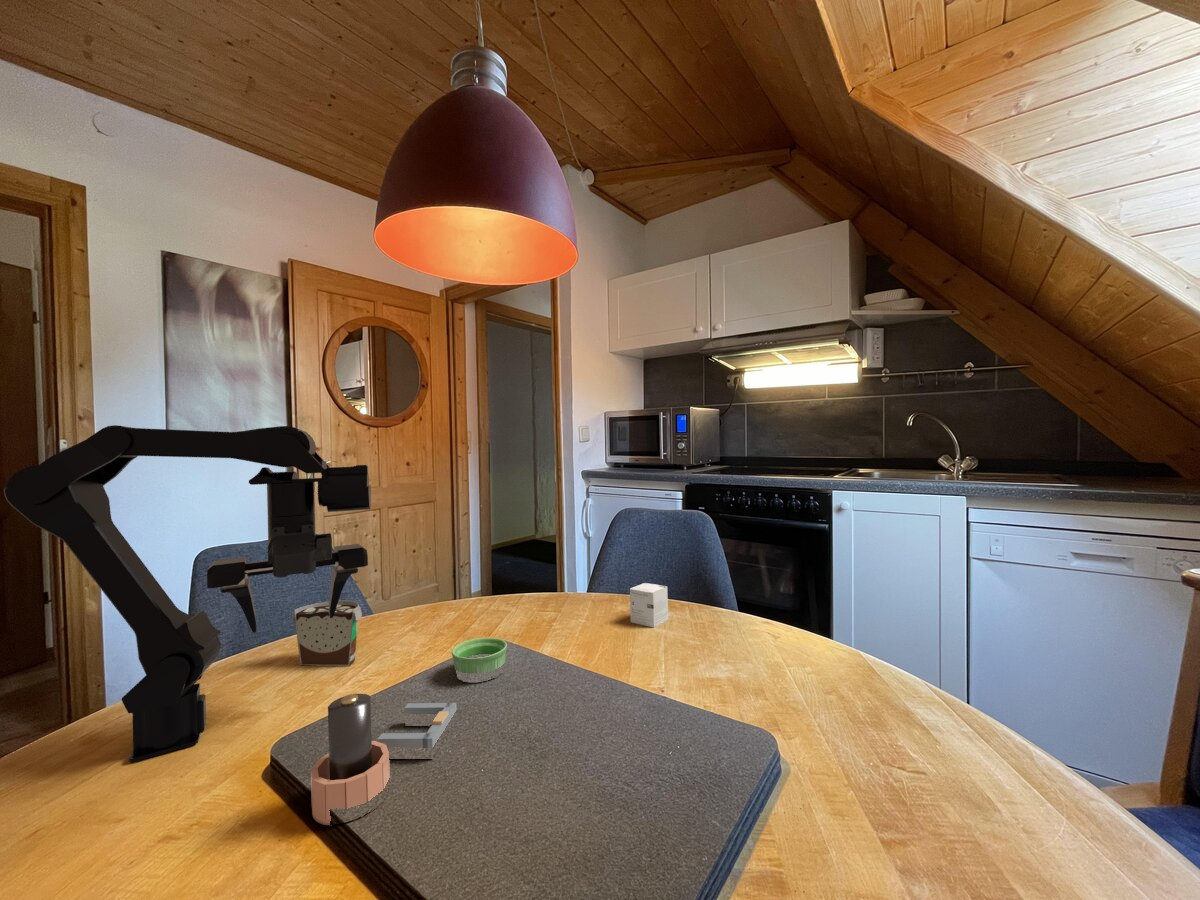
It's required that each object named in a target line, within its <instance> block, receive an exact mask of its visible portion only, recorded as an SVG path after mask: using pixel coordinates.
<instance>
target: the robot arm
mask: <svg viewBox="0 0 1200 900" xmlns="http://www.w3.org/2000/svg"><path fill="white" fill-rule="evenodd" d="M316 449H317V447H316V442H315V440H314V438H313V436H311V434H309V433H308V432H307V431H305V430H302V429H299V428H297V427H294V426H288V425H281V426H271V427H269V426H268V427H264V428H263V427H262V428H254V429H248V430H241V431H239V430H238V431H217V430H215V431H214V430H212V431H211V430H193V429H192V430H190V429H188V430H186V429H168V428H167V429H165V428H164V429H163V428H145V427H144V428H139V427H131V426H123V425H116V424H115V425H114V424H113V425H107V426H105V427H103V428H100V430H98V431H96V432H95V433H93V434H92V435H91V436H89V437H88V438H86V439H84V440H83V441H80V442H78V443H76V444H74V445H71V446H70V447H68V448H66V449H64V450H61V451H60V452H57V453H55V454H53V455H52V456H49V457H48V458H46V460H44V461H42V462H41V463H40V464H37V465H30V466H26V467H23V468H22V469H20V470H17V471H16V472H15V473H14V474H13V475H12V476H11V477H10V478H9V479H8V482H7V484H6V487H4V488H3V495H4V497H5V499H6V501H7V502H8V504H9V505H10V506H11V507H12V508H13V509H15V510H16V511H17V512H18V513H19V514H20V515H22V516H23V517H24V518H26V520H27V521H29V522H30V523H31V524H32V525H34V526H35V527H38V528H40V529H42V530H44V531H45V532H47V533H49V534H51V535H53V536H55V537H57V538H58V539H60V540H61V541H62V542H64V544H65V545H66V546H67V547H68V549H69V550H70V552H72V554H73V555H74V556H75V558H76V559H77V561H79V563H80V564H81V565H82V566H83V568H84V569H85V570H86V572H87V573H88V575H89V576H90V577H91V578H92V580H93V581H94V582H95V583H96V585H97V586H98V587H99V588H100V590H101V591H102V592H103V594H104V595H105V597H107V599H108V600H109V601H110V603H111V604H112V605H113V607H114V608H115V610H117V612H118V613H119V614H120V615H121V617H122V618H123V619H124V621H125V622H126V623H127V625H128V626H129V627H130V628H131V630H132V631H133V633H134V635H135V640H136V641H135V642H136V648H137V655H138V656H137V657H138V661H139V663H140V665H141V667H142V669H143V671H144V673H145V676H144V677H142V678H141V680H140V681H139V682H137V683H136V684H134V686H133V687H132V688H131V689H130V690H128V691H127V693H125V695H123V696H122V697H121V702H122V704H123V705H124V707H125V710H126V711H127V713H128V714H131V715H132V716H131V717H132V718H131V719H132V751H131V753H130V755H129V758H128V762H129V763H134V762H139V761H142V760H145V759H149V758H152V757H157V756H159V755H163V754H166V753H170V752H174V751H177V750H181V749H184V748H187V747H191V746H194V745H197V744H198V743H199V742H200V736H201V734H202V733H203V732H204V731H205V729H206V725H207V709H206V708H207V707H206V706H207V705H206V704H207V702H206V694H204V693H203V694H201V683H197V682H198V681H199V680H200V679H202V677H203V675H204V673H205V672H206V671H207V669H208V668H209V667H210V666H211V665H213V664H214V662H215V661H216V660H217V658H218V656H219V654H220V651H221V648H222V644H221V641H220V638H219V636H220V635H221V634H222V631H221V630H220V629H217V628H216V627H215V626H214V625H213V624H212V622H211V621H210V618H209V617H208V616H209V615H208V614H207V613H206V612H205V610H200V611H199V612H198V613H196V614H195V615H194V616H192V615H190V614H188V613H186V612H185V611H183V610H181V609H180V608H178V607H177V606H176V604H175V603H174V602H173V600H172V598H170V597H169V595H168V594H167V593H166V591H165V590H164V588H163V587H162V586H161V585H160V583H159V582H158V581H157V579H156V578H155V576H154V575H153V574H152V572H151V571H150V570H149V569H148V567H147V566H146V565H145V563H144V562H143V561H142V559H141V558H140V557H139V556H138V554H137V552H136V551H135V550H134V549H133V547H132V546H131V544H130V543H129V542H128V541H127V540H126V537H124V535H123V534H122V533H121V531H120V530H119V528H118V527H117V526H116V525H115V522H114V521H113V520H112V515H111V513H112V512H111V506H110V505H111V504H110V497H109V496H108V494H107V492H106V490H105V487H104V486H105V485H106V484H108V483H109V482H111V481H113V480H114V479H115V478H116V477H118V476H119V475H120V473H121V472H123V470H124V469H126V467H127V466H128V465H129V464H130V462H132V461H133V460H135V459H136V458H138V457H163V458H164V457H168V458H170V457H171V458H207V459H208V458H209V459H211V458H213V459H216V458H217V459H234V460H240V461H245V462H246V461H247V462H251V463H256V464H261V465H268V466H272V467H273V466H274V467H280V468H296V469H297V470H299V471H301V472H303V473H305V474H321V477H310V478H309V477H308V478H305V477H304V478H299V475H298V472H297V471H295V470H294V471H275V472H274V471H273V470H272V469H270V468H269V467H261V469H260V470H259V471H258V473H257V474H256V475H254V476H253V477H252V478H250V479H249V480H248V484H249V485H252V486H253V485H254V486H255V485H266V496H267V497H266V498H267V499H266V502H267V510H266V511H267V540H268V541H267V544H268V545H267V557H268V558H267V559H266V560H258V561H249V562H247V556H243V557H242V556H241V557H234V558H225V559H224V558H223V559H217V560H214V561H213V562H212V563H211V564H210V565H209V567H208V569H207V571H206V572H207V573H206V583H207V584H206V587H207V589H217V588H220V590H219V591H220V593H222V594H223V593H224V594H226V593H230V594H231V595H232V596H233V598H234V599H235V600H236V601H237V604H239V605H240V608H241V610H242V611H243V614H244V616H245V618H246V621H247V623H248V625H249V627H250V630H251V632H252V633H253V634H257V631H258V630H257V627H258V626H257V614H256V609H255V604H254V602H255V601H254V597H253V593H252V592H253V591H252V585H251V580H250V577H253V576H258V575H259V576H260V575H266V574H272V575H273V577H275V578H286V577H288V576H291V575H299V574H304V575H307V574H313V573H315V571H316V570H317V567H327V566H331V573H330V574H331V575H330V577H331V578H330V585H329V586H330V588H329V617H330V618H333V616H334V613H335V610H336V607H337V604H338V601H340V599H341V595H342V591H343V589H344V587H345V586H346V583H347V581H348V579H349V578H350V577H351V575H355V574H358V573H359V569H358V568H364V567H367V566H368V565H369V561H368V559H369V557H368V556H369V555H368V550H367V549H366V548H365V547H364V546H362V545H361V544H360V543H354V544H353V543H352V544H347V545H346V544H345V545H338V546H337V545H335V546H333V540H332V539H333V537H332V533H320V534H316V513H315V512H316V501H315V498H316V497H315V496H316V495H315V483H317V500H318V501H317V502H318V505H319V507H324V508H325V507H326V511H327V512H328V513H335V512H338V513H339V512H350V511H353V512H354V511H367V510H371V508H372V507H371V506H372V487H371V485H370V477H369V476H370V475H369V466H368V465H367V464H357V465H353V466H337V467H335V466H334V467H330V465H329V464H328V463H327V461H325V460H324V459H323V458H322V457H321V456H320V455H319V454H318V452H316ZM333 547H334V548H333ZM333 565H334V566H333Z"/></svg>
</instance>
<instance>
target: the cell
mask: <svg viewBox="0 0 1200 900" xmlns="http://www.w3.org/2000/svg"><path fill="white" fill-rule="evenodd" d="M371 703H372V702H371V696H370V695H369V694H367V693H352V694H347V695H345V696H341V697H338V698H337V699H335V700H333V701H332V702H331V703H329V705H328V707H327V719H328V720H327V721H328V723H327V724H328V725H327V726H328V727H327V729H328V753H329V774H330V780H341V779H348V778H350V777H353V776H356V775H359V774H362V773H364V772H366V771H367V770H369V769H370V768H371V767H372V741H373V740H372V707H371V706H372V704H371Z"/></svg>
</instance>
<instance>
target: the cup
mask: <svg viewBox="0 0 1200 900" xmlns="http://www.w3.org/2000/svg"><path fill="white" fill-rule="evenodd" d="M390 761H391V760H389V751H388V748H387V746H386V745H385V744H383V743H380V742H377V740H372V767H371V768H370V769H369V770H367V771H366V772H364V773H362V774H359V775H356V776H353V777H350V778H348V779H341V780H328V779H330V774H329V752H327V754H325V755H323V756H322V757H320V758H319V759H318V760H317V761H316V762H315V764H314V765H313V766H312V768H311V769H310V789H311V790H310V792H311V793H310V795H311V796H310V797H311V800H310V801H311V814H312V815H311V816H312V819H314V821H315V822H317V824H321V825H324V826H331V825H330V821H331V816H330V811H329V810H330V809H336V808H337V809H338V808H340V809H342V808H343V809H345V808H347V809H348V808H351V807H354V806H357V805H360V804H364V803H366V802H367V801H370V800H371V799H372V798H373V797H375V796H376V795H378V793H380V792H381V791H383V789H384V788H385V786H386V784H387V782H388V780H389V778H390V779H391V772H390V770H391V769H390V766H391V765H390V764H391V763H390Z"/></svg>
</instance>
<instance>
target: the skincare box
mask: <svg viewBox="0 0 1200 900" xmlns="http://www.w3.org/2000/svg"><path fill="white" fill-rule="evenodd" d="M668 592H669V591H668V586H666V585H660V584H657V583H656V584H655V583H648V582H643V583H641V584H638V585H636V586H633V587H631V588H629V607H630V608H629V609H630V613H629V614H630V623H632V624H637V625H641V626H646V627H650V628H657V627H658V626H660V625H661V624H663V623H665V622H667V621H669V612H668V611H669V605H668V604H669V603H668V602H669V601H668Z"/></svg>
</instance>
